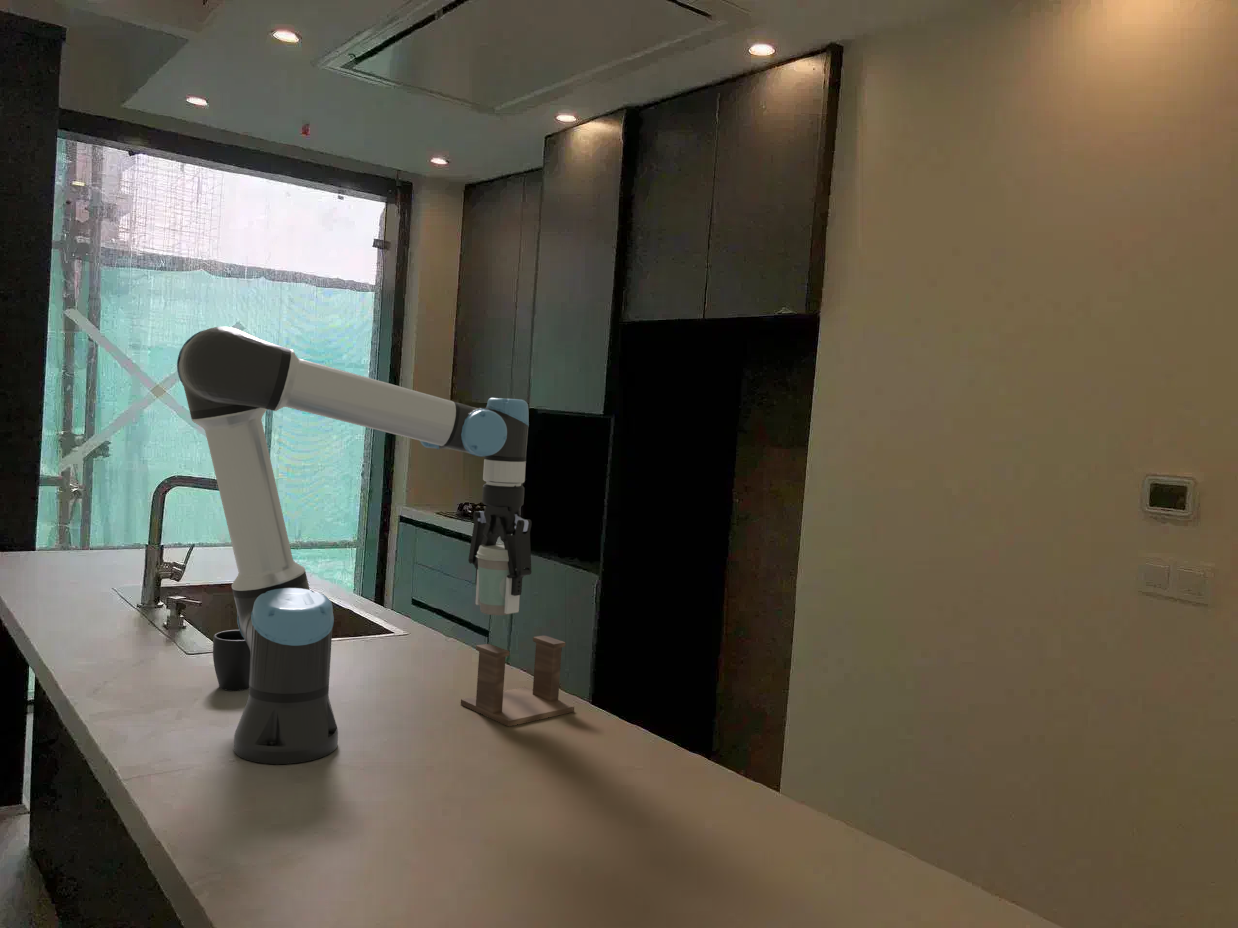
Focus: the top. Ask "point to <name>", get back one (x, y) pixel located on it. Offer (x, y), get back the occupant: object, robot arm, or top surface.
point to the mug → (231, 660)
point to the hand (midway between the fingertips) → (496, 608)
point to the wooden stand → (519, 701)
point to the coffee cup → (492, 578)
